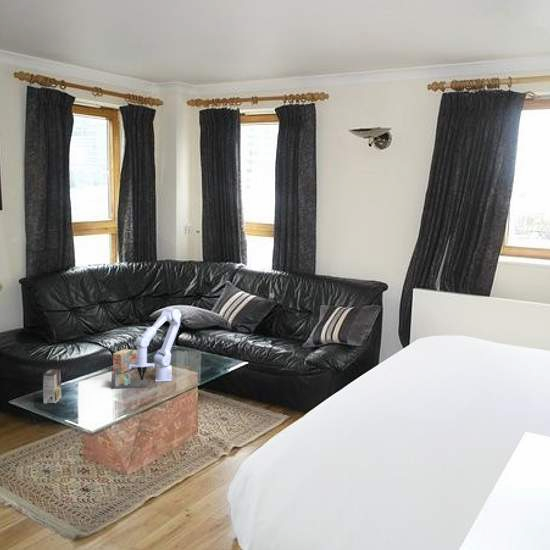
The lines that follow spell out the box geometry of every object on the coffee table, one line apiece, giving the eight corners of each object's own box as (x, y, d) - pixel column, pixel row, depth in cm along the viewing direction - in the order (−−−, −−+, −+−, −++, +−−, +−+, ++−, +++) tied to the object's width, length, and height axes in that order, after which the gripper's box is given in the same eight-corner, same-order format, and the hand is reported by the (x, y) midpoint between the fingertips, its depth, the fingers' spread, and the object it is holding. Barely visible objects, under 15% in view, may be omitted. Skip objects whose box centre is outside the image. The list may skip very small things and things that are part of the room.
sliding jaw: (130, 379, 351) (130, 371, 351) (130, 385, 342) (130, 376, 341) (124, 380, 351) (124, 371, 350) (124, 385, 341) (124, 376, 340)
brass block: (124, 381, 349) (124, 373, 349) (124, 385, 343) (124, 377, 342) (119, 381, 349) (119, 374, 348) (118, 385, 342) (118, 377, 341)
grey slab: (146, 380, 355) (146, 371, 354) (147, 387, 343) (147, 378, 342) (112, 382, 350) (112, 373, 349) (111, 388, 338) (111, 379, 338)
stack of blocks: (133, 363, 388) (133, 345, 386) (141, 364, 386) (141, 346, 384) (112, 372, 368) (112, 353, 366) (121, 373, 366) (121, 354, 364)
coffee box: (50, 397, 322) (49, 368, 319) (61, 398, 322) (61, 369, 319) (43, 403, 313) (42, 374, 310) (55, 404, 313) (54, 374, 310)
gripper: (154, 354, 351) (154, 376, 353) (129, 355, 348) (129, 377, 350) (154, 358, 345) (154, 380, 347) (129, 359, 341) (129, 381, 343)
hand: (141, 379), depth 348 cm, fingers closed
